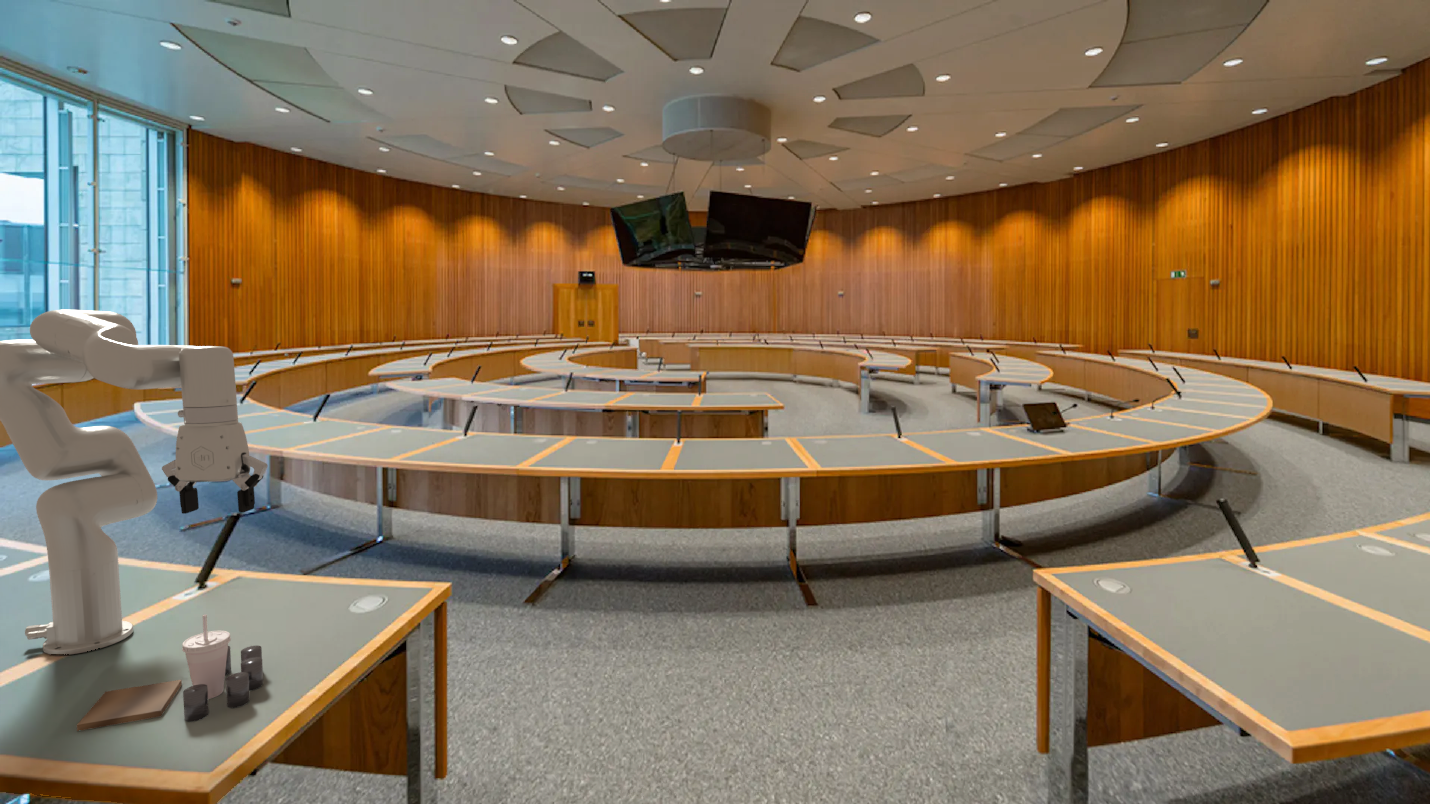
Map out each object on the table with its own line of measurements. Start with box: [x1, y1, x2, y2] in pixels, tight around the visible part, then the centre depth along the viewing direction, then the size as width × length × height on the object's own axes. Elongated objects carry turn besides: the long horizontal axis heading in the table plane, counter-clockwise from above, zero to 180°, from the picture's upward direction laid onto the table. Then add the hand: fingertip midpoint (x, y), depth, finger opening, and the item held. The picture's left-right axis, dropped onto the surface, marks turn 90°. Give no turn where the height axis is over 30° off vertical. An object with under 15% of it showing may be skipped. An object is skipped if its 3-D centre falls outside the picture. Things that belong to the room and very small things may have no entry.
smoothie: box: [181, 614, 232, 700], centre depth 107 cm, size 6×6×14 cm
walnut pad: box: [76, 679, 183, 732], centre depth 103 cm, size 10×10×1 cm
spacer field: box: [182, 645, 264, 723], centre depth 109 cm, size 9×17×4 cm, turn 25°
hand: (218, 511), depth 115 cm, fingers open, 9 cm apart
